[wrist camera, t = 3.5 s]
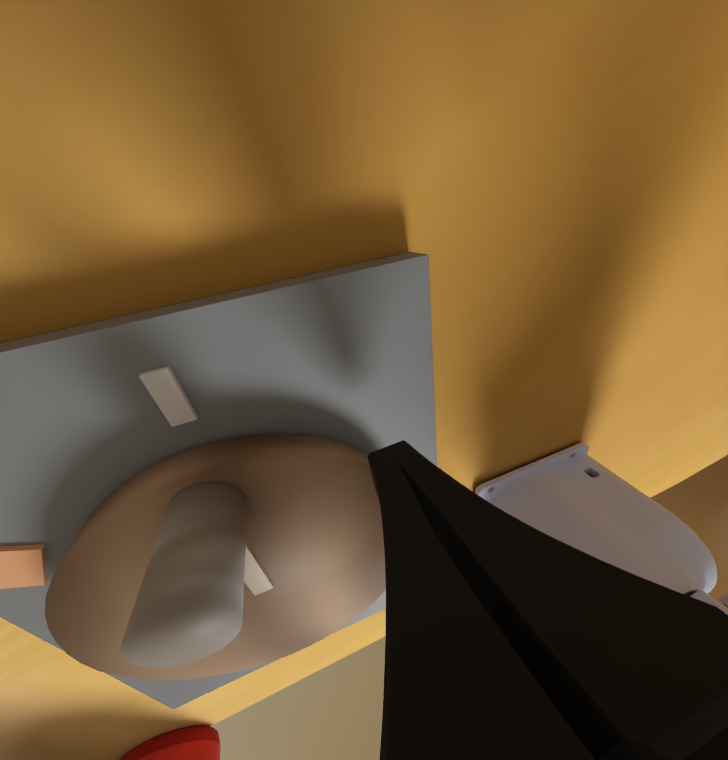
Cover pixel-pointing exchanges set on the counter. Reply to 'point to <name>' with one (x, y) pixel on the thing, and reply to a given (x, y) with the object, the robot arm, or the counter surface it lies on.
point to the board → (202, 405)
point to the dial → (222, 559)
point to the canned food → (180, 745)
